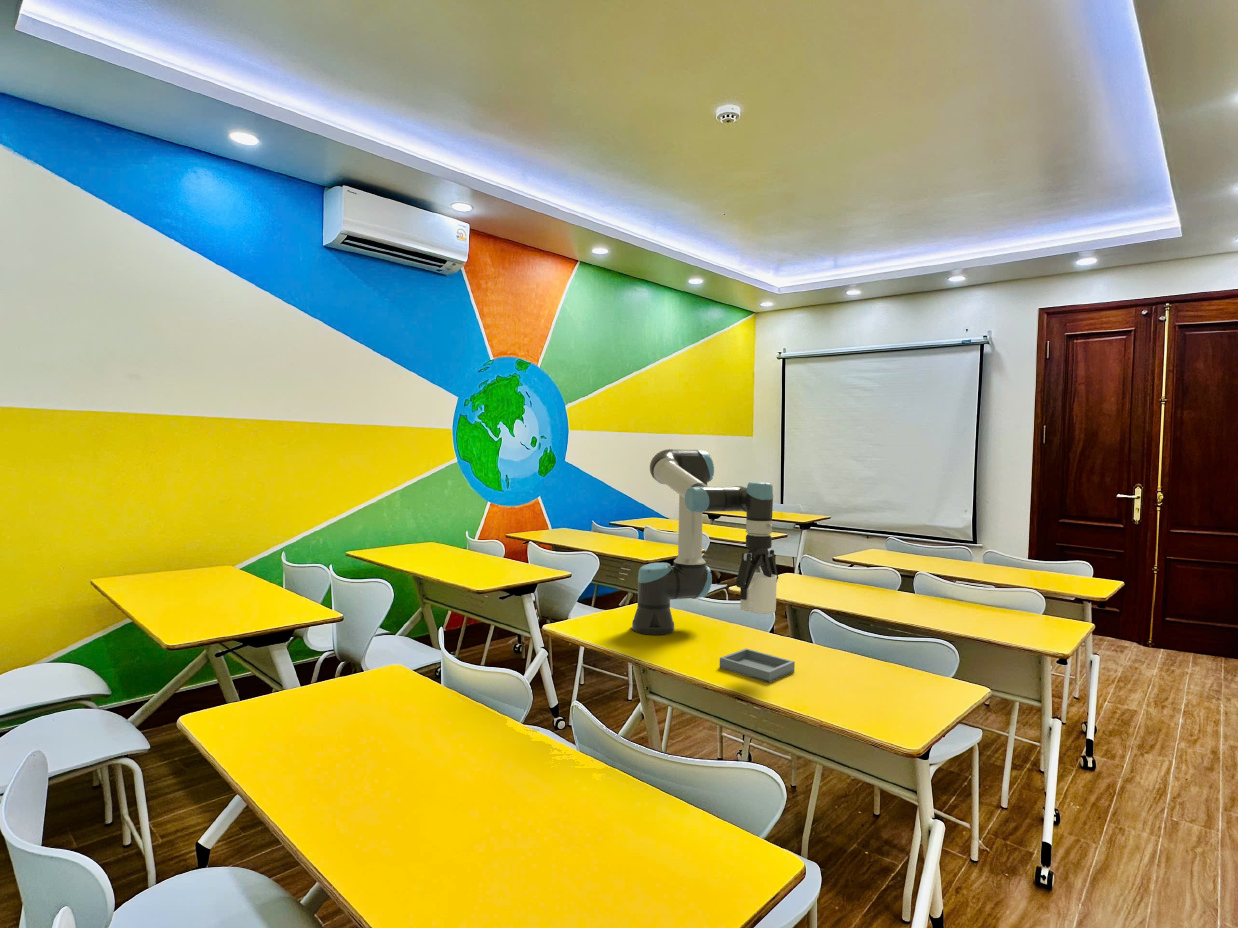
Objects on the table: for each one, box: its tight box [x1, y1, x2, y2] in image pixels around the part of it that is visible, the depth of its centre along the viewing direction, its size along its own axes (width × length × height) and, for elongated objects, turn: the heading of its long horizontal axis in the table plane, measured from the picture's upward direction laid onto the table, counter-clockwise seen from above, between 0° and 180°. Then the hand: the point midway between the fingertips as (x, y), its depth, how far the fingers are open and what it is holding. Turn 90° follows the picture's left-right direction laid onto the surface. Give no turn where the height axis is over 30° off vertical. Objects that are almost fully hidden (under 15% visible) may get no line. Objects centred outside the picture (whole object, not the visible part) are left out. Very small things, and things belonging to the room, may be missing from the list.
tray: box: [719, 648, 796, 684], centre depth 199 cm, size 17×14×3 cm
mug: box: [748, 572, 778, 615], centre depth 199 cm, size 9×12×11 cm
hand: (756, 607), depth 199 cm, fingers closed on mug, 12 cm apart
